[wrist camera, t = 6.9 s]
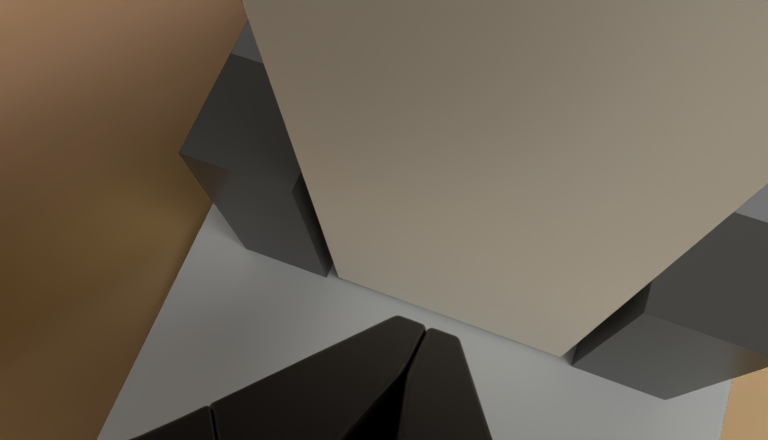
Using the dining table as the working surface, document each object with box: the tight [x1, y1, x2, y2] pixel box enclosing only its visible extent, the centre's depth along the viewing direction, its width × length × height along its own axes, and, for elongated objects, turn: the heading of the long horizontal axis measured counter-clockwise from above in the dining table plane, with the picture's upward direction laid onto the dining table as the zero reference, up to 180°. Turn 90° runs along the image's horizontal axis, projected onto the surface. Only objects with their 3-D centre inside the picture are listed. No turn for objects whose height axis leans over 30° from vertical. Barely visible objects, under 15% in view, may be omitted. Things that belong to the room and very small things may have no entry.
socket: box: [97, 20, 768, 440], centre depth 14 cm, size 20×12×6 cm, turn 159°
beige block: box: [242, 0, 768, 357], centre depth 10 cm, size 5×5×13 cm
